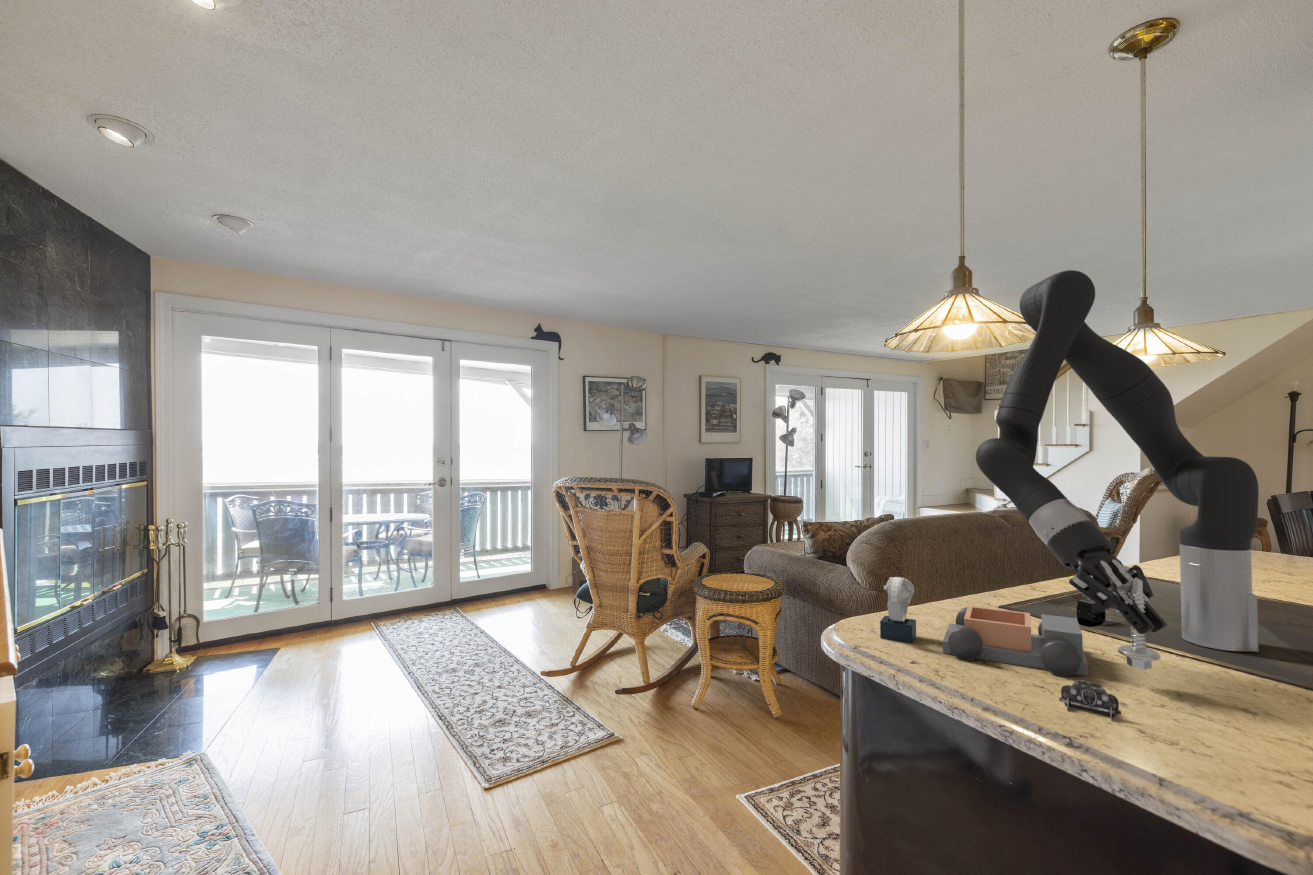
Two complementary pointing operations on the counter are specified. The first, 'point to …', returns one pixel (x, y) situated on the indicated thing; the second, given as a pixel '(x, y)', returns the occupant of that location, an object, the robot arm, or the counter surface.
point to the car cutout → (1089, 698)
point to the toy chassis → (1017, 640)
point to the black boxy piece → (1091, 614)
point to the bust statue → (898, 612)
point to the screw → (1138, 635)
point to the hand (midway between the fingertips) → (1154, 629)
